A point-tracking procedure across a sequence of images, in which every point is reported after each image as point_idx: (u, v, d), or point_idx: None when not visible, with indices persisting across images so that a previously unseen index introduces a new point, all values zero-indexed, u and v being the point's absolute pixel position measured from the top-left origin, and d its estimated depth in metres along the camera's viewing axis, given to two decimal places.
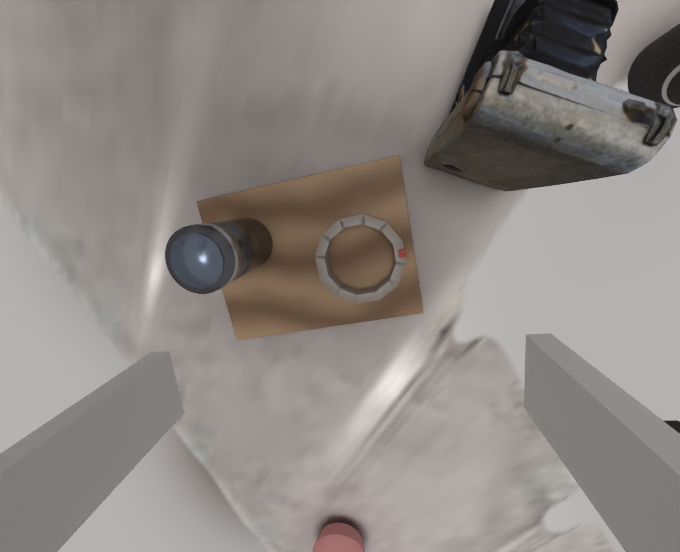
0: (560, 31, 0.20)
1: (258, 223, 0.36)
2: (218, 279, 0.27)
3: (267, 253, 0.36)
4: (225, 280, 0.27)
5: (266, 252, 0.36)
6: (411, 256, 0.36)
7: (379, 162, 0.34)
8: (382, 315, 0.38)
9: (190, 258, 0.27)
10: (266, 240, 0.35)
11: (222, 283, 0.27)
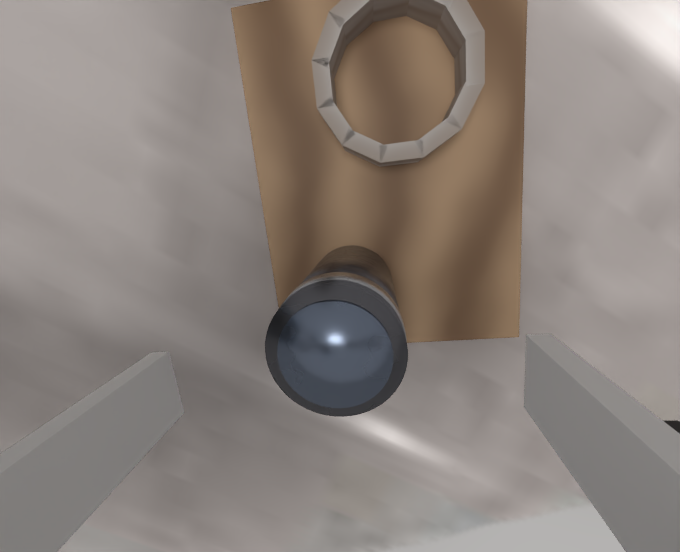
0: None
1: None
2: (378, 321, 0.13)
3: (368, 252, 0.21)
4: (382, 306, 0.12)
5: (365, 252, 0.21)
6: None
7: (240, 45, 0.21)
8: (518, 45, 0.19)
9: (327, 367, 0.13)
10: (346, 249, 0.21)
11: (388, 314, 0.12)
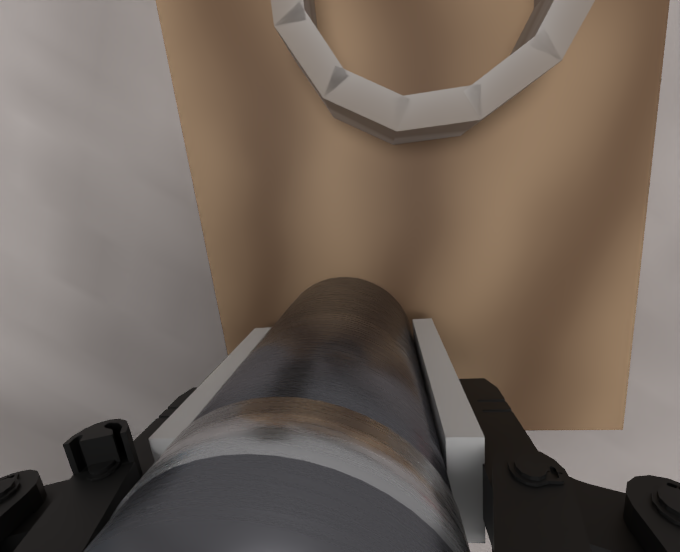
0: None
1: (292, 303, 0.14)
2: None
3: (372, 293, 0.12)
4: None
5: (367, 294, 0.12)
6: None
7: None
8: None
9: None
10: (334, 288, 0.12)
11: None
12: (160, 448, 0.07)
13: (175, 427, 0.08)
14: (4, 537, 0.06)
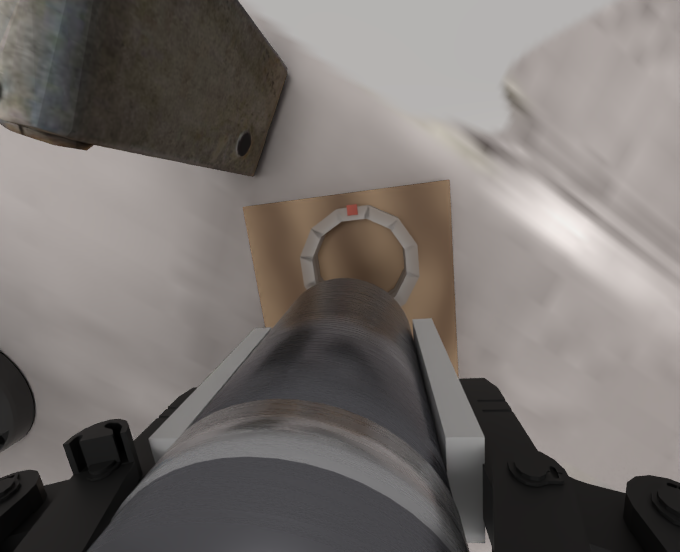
0: None
1: (292, 304, 0.14)
2: None
3: (372, 294, 0.12)
4: None
5: (367, 295, 0.12)
6: (365, 195, 0.27)
7: (249, 230, 0.29)
8: (446, 238, 0.27)
9: None
10: (334, 289, 0.12)
11: None
12: (160, 448, 0.07)
13: (175, 427, 0.08)
14: (4, 537, 0.06)
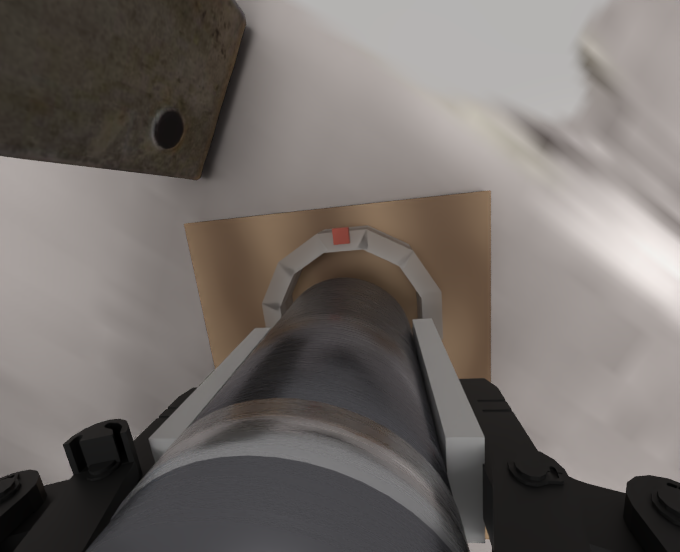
0: None
1: None
2: None
3: (372, 293, 0.12)
4: None
5: (367, 295, 0.12)
6: (362, 211, 0.18)
7: (195, 257, 0.20)
8: (482, 277, 0.18)
9: None
10: (334, 288, 0.12)
11: None
12: (160, 448, 0.07)
13: (175, 427, 0.08)
14: (4, 537, 0.06)
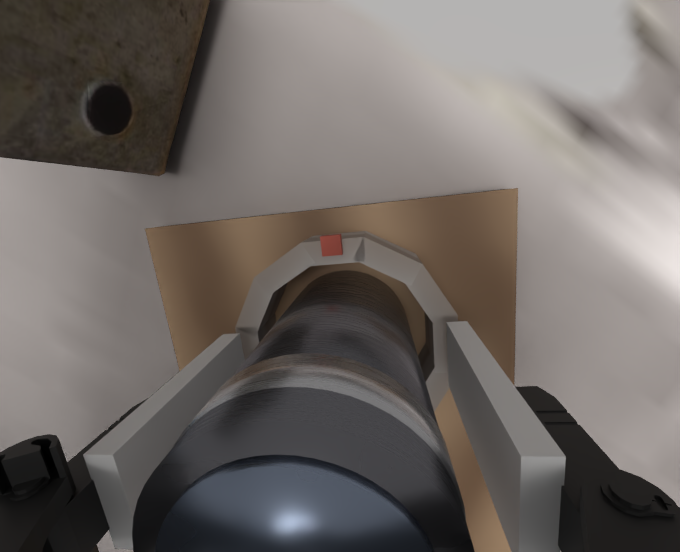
0: None
1: (299, 294, 0.15)
2: (404, 511, 0.05)
3: (372, 283, 0.14)
4: (417, 477, 0.05)
5: (367, 284, 0.13)
6: (359, 213, 0.15)
7: (159, 268, 0.17)
8: (506, 294, 0.15)
9: None
10: (338, 279, 0.14)
11: (433, 497, 0.05)
12: (95, 464, 0.07)
13: (113, 442, 0.07)
14: None
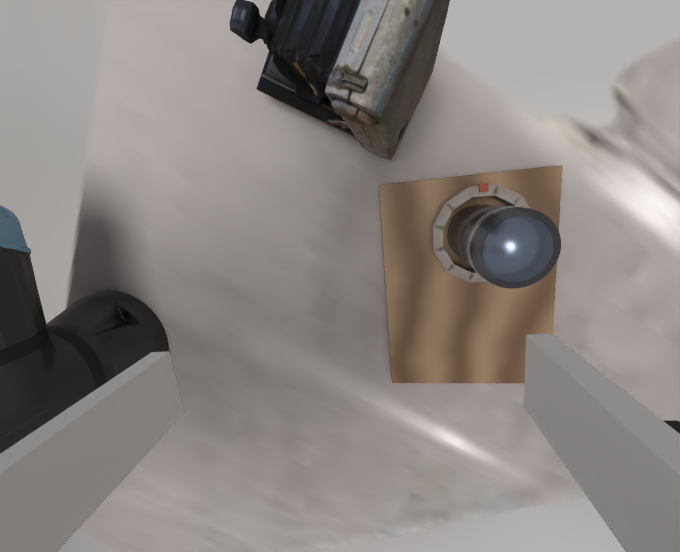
0: (306, 31, 0.21)
1: (457, 214, 0.33)
2: (545, 228, 0.22)
3: None
4: (549, 219, 0.22)
5: None
6: (487, 177, 0.32)
7: (382, 204, 0.34)
8: (554, 215, 0.32)
9: (512, 256, 0.23)
10: None
11: (552, 224, 0.22)
12: None
13: None
14: None
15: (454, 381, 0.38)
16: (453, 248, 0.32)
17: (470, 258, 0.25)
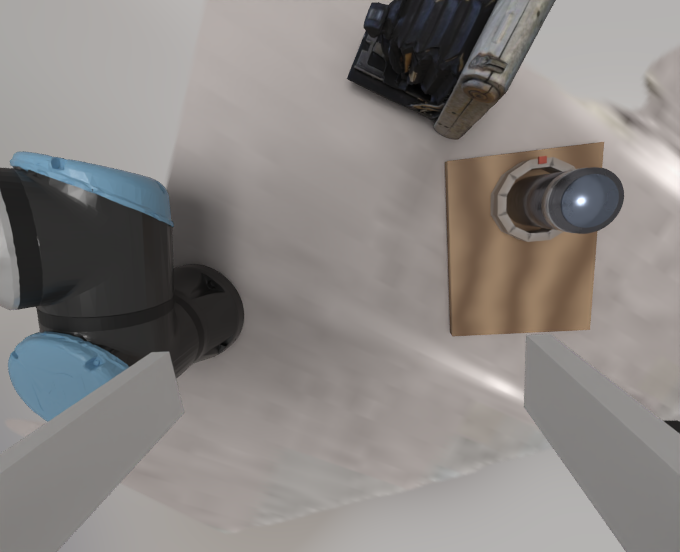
0: (426, 28, 0.27)
1: (516, 185, 0.39)
2: (611, 183, 0.29)
3: None
4: (614, 176, 0.28)
5: None
6: (541, 152, 0.38)
7: (450, 178, 0.40)
8: None
9: (586, 206, 0.29)
10: None
11: (617, 179, 0.28)
12: None
13: None
14: None
15: (507, 332, 0.44)
16: (515, 213, 0.38)
17: (548, 211, 0.30)
